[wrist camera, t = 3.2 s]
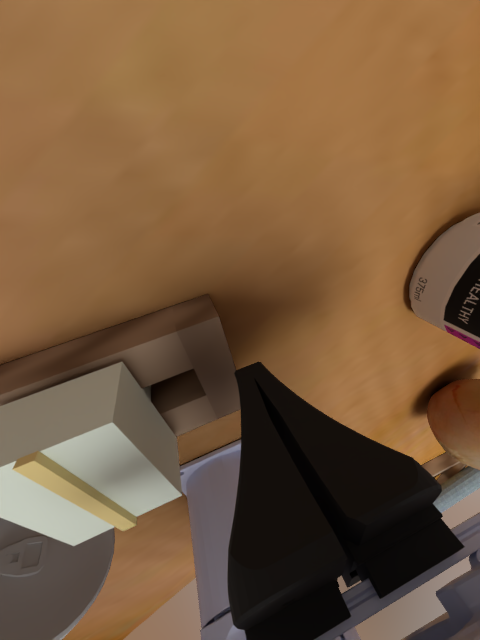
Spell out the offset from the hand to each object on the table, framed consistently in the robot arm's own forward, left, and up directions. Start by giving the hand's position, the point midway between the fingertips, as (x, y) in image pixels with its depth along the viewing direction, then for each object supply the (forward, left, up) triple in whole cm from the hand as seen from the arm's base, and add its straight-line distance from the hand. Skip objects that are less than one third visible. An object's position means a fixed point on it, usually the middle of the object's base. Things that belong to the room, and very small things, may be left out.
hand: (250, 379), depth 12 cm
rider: (+7, 0, -4) cm, 8 cm away
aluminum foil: (-33, +60, -2) cm, 68 cm away
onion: (-24, +20, -4) cm, 31 cm away
